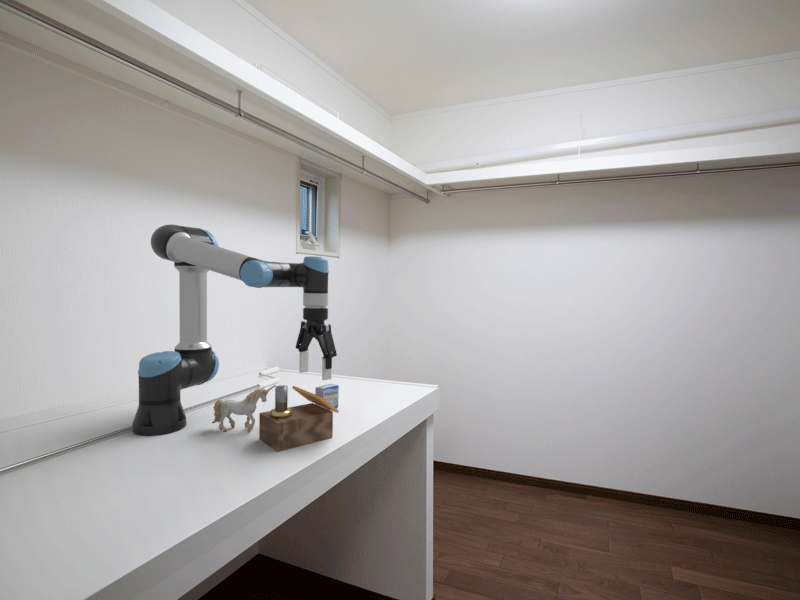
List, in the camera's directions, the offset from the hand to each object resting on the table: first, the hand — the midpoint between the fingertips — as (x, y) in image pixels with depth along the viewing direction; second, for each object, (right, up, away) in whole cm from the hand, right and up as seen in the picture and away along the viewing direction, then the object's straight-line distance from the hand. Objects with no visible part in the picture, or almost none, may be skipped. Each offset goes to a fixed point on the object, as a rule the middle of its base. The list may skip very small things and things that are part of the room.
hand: (314, 375), depth 137 cm
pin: (-9, -18, -7) cm, 21 cm away
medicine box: (-1, -17, +28) cm, 33 cm away
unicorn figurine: (-24, -18, +6) cm, 30 cm away
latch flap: (0, -8, 0) cm, 8 cm away
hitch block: (-5, -18, -3) cm, 19 cm away
